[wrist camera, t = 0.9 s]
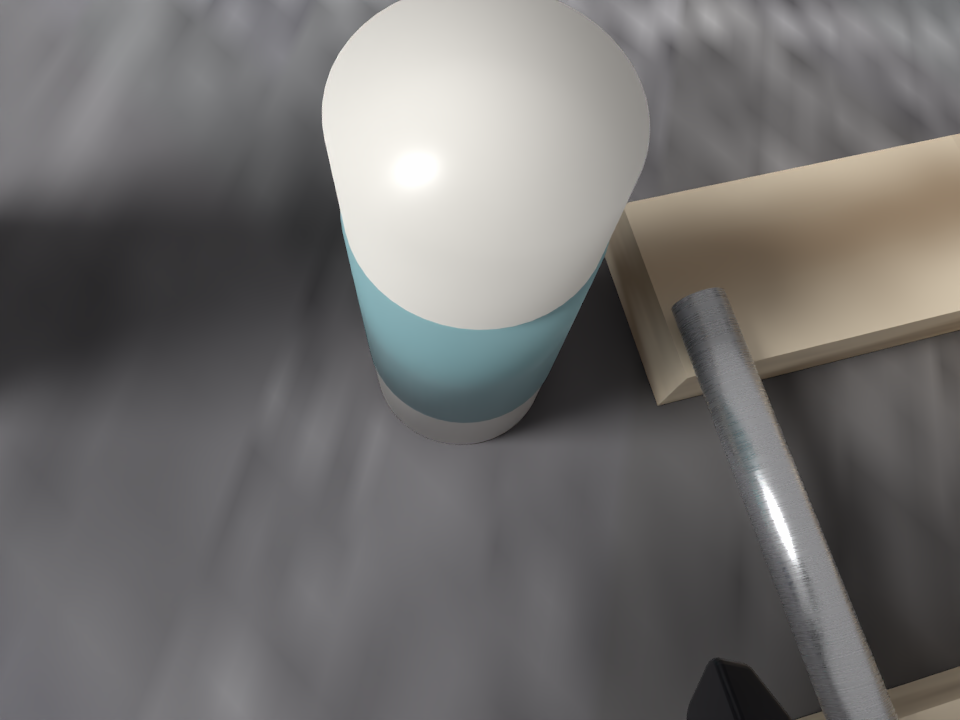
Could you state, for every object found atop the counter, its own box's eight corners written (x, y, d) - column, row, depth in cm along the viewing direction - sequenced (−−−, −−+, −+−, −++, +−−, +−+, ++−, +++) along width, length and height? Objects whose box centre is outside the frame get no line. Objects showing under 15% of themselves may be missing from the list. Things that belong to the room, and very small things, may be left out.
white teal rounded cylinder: (564, 423, 24) (700, 221, 12) (396, 465, 23) (357, 295, 11) (517, 272, 26) (594, -40, 14) (359, 306, 25) (290, 8, 13)
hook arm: (913, 811, 18) (957, 828, 17) (856, 831, 18) (895, 851, 17) (713, 305, 23) (733, 282, 21) (664, 316, 22) (681, 294, 21)
